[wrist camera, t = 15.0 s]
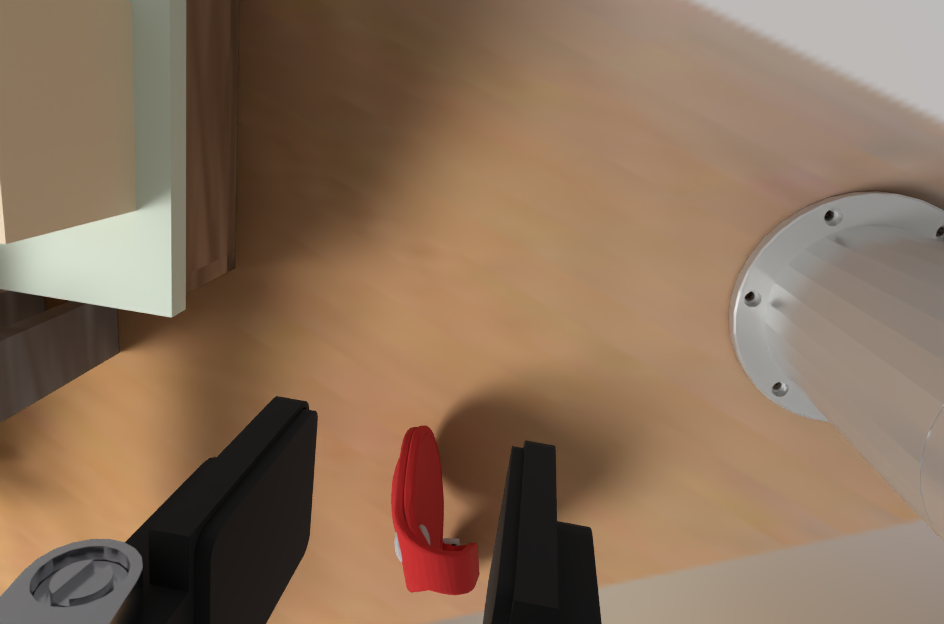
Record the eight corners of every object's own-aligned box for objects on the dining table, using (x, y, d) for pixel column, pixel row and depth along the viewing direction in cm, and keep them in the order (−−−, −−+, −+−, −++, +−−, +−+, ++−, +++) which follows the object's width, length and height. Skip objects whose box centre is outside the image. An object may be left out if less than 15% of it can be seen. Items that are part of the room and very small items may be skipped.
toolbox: (240, -41, 32) (32, -146, 19) (232, 371, 39) (78, 506, 26) (-27, -76, 33) (-410, -202, 19) (13, 335, 40) (-249, 449, 26)
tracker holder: (400, 400, 39) (357, 494, 29) (473, 395, 38) (454, 490, 29) (427, 568, 42) (396, 702, 33) (494, 566, 42) (483, 701, 32)
